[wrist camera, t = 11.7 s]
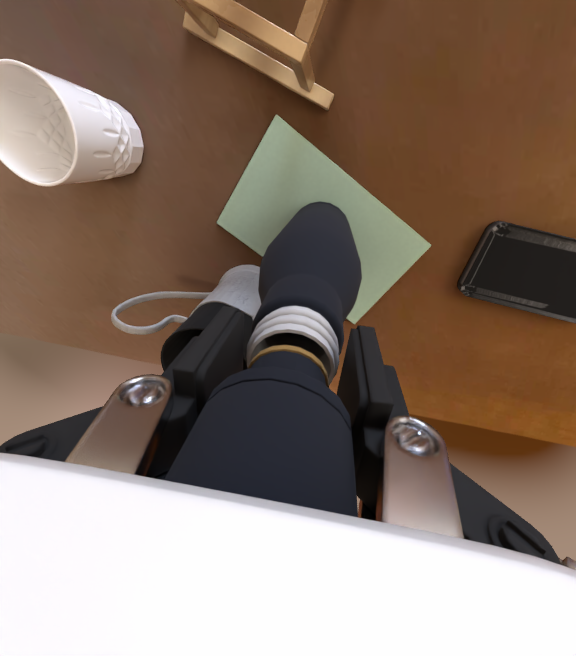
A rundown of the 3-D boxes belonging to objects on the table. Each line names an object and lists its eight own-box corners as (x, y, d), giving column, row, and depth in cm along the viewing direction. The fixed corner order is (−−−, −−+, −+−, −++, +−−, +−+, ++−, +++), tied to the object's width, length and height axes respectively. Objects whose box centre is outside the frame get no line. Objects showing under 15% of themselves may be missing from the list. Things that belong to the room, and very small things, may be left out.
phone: (496, 220, 28) (652, 258, 28) (490, 218, 29) (641, 255, 29) (456, 294, 32) (593, 329, 32) (452, 291, 33) (585, 324, 33)
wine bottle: (348, 264, 32) (413, 673, 6) (289, 263, 33) (123, 621, 7) (352, 200, 29) (518, 461, 3) (288, 201, 30) (-16, 414, 4)
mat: (217, 222, 33) (216, 222, 33) (276, 114, 28) (275, 113, 28) (354, 323, 37) (354, 324, 36) (430, 244, 31) (431, 245, 31)
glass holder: (273, 338, 39) (242, 422, 26) (171, 301, 39) (88, 367, 26) (295, 280, 35) (271, 344, 22) (181, 237, 35) (88, 277, 22)
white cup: (149, 102, 29) (68, 72, 20) (150, 189, 33) (83, 196, 24) (71, 84, 29) (-42, 46, 20) (82, 173, 33) (-9, 173, 24)
